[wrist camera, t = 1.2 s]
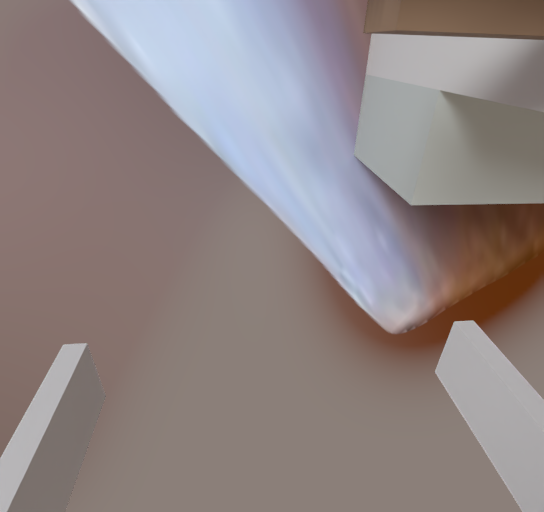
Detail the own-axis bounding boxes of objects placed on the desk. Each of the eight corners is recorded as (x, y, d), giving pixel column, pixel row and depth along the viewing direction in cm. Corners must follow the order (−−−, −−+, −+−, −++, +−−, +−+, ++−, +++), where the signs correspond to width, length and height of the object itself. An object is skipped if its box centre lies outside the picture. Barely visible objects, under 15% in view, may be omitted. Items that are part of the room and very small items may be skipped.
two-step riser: (380, -28, 38) (682, -174, 13) (562, -18, 41) (1124, -124, 15) (353, 154, 49) (491, 275, 23) (499, 155, 51) (771, 265, 25)
